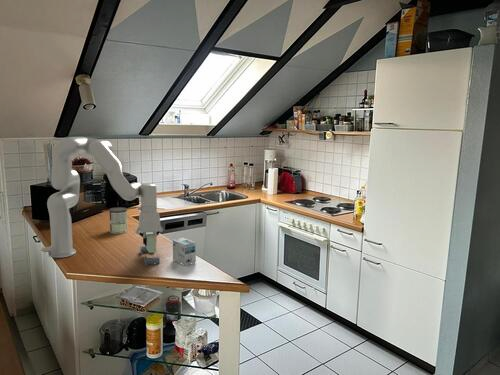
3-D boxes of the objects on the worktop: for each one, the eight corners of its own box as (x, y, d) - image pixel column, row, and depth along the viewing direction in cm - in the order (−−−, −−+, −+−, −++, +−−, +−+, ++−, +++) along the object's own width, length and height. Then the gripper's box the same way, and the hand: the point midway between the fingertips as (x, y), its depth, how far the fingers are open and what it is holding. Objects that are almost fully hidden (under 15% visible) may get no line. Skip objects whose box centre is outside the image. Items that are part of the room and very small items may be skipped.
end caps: (145, 265, 183) (145, 259, 183) (139, 252, 201) (139, 246, 201) (159, 263, 186) (159, 257, 185) (152, 250, 204) (152, 245, 203)
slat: (148, 252, 185) (148, 238, 184) (143, 243, 199) (143, 230, 198) (156, 252, 186) (156, 238, 185) (150, 242, 201) (150, 229, 199)
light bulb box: (196, 263, 188) (196, 242, 187) (185, 266, 184) (185, 244, 182) (183, 257, 196) (183, 237, 194) (172, 260, 191) (172, 239, 189)
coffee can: (106, 231, 236) (105, 209, 234) (120, 228, 244) (120, 206, 242) (116, 234, 230) (116, 211, 228) (131, 231, 239) (130, 208, 236)
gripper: (132, 211, 183) (133, 248, 186) (167, 209, 189) (167, 245, 192) (130, 208, 189) (131, 244, 192) (164, 206, 196) (164, 241, 199)
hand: (149, 244), depth 192 cm, fingers closed on slat, 3 cm apart
